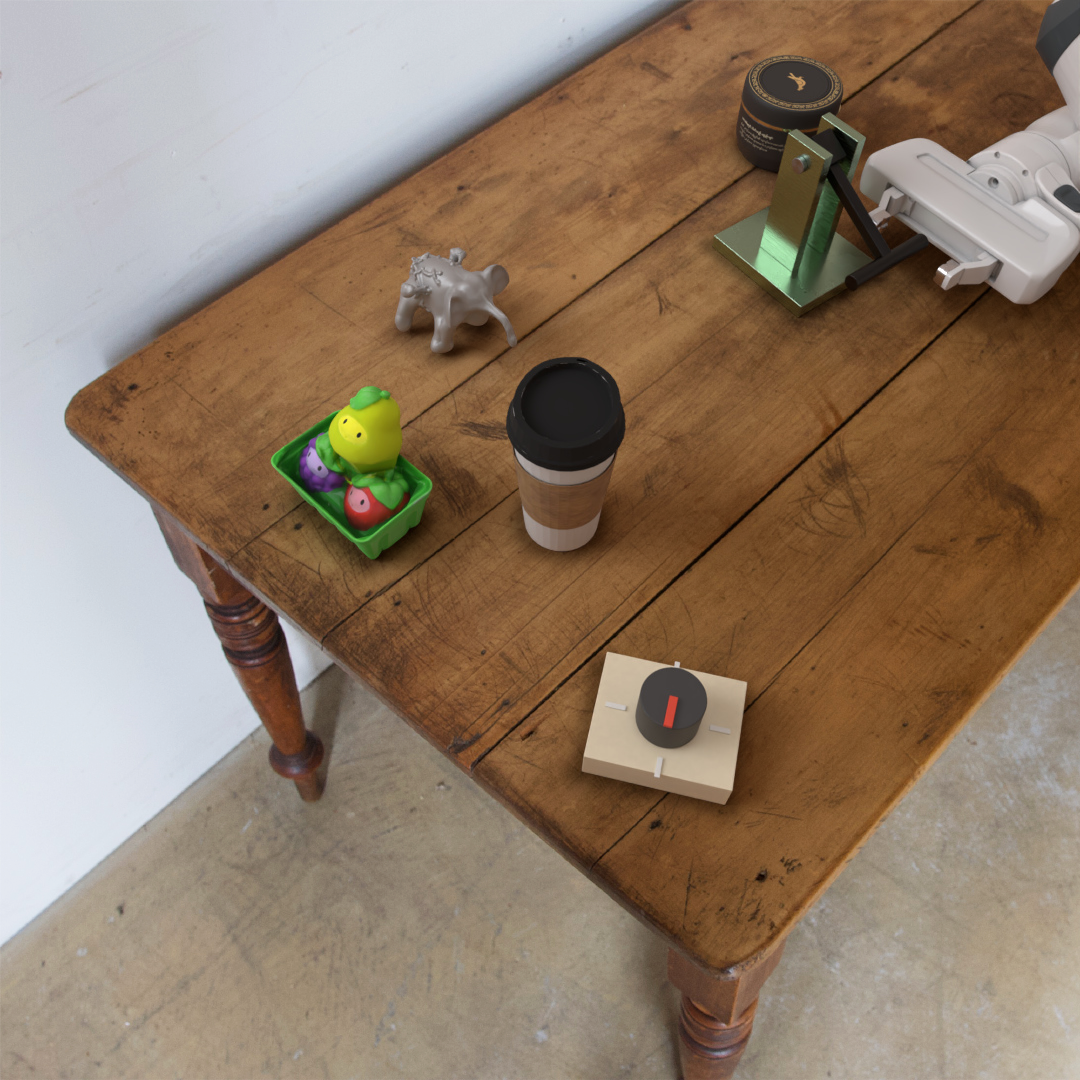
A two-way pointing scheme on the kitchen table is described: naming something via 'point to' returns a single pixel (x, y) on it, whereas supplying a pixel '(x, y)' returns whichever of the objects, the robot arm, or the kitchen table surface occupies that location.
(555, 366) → the coffee cup
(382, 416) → the fruit basket
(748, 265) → the green metal lever stand
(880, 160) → the robot arm
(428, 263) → the gray elephant figurine
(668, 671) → the knob
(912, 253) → the black lever handle
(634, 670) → the panel
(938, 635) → the kitchen table surface
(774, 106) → the jar
